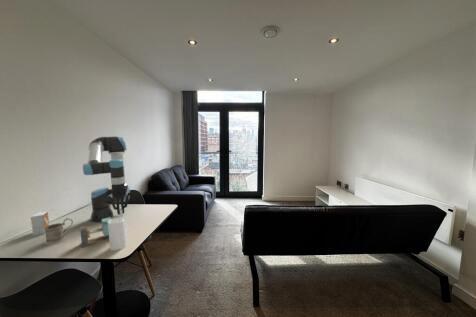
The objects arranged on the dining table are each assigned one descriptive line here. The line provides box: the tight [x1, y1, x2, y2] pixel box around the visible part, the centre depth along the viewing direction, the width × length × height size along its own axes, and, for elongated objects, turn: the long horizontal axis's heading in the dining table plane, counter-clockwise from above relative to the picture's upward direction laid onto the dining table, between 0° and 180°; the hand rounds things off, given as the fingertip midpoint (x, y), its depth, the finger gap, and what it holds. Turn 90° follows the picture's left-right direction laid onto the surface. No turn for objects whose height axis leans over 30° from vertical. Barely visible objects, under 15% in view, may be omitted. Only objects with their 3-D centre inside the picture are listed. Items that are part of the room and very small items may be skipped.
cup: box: [108, 217, 127, 251], centre depth 118 cm, size 8×8×16 cm
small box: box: [30, 211, 50, 237], centre depth 139 cm, size 8×6×13 cm
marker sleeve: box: [101, 217, 112, 237], centre depth 129 cm, size 7×5×9 cm
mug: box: [44, 217, 74, 246], centre depth 128 cm, size 14×10×12 cm
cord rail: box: [79, 226, 109, 248], centre depth 126 cm, size 7×19×10 cm, turn 130°
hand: (121, 218), depth 133 cm, fingers closed
